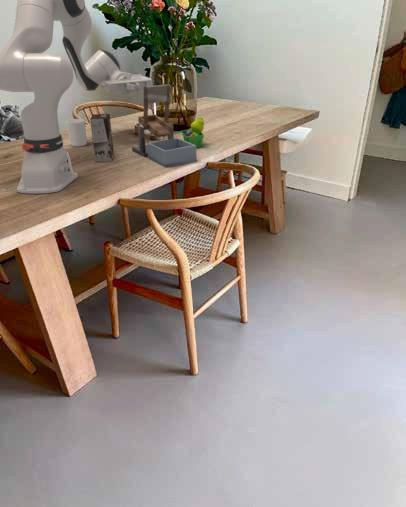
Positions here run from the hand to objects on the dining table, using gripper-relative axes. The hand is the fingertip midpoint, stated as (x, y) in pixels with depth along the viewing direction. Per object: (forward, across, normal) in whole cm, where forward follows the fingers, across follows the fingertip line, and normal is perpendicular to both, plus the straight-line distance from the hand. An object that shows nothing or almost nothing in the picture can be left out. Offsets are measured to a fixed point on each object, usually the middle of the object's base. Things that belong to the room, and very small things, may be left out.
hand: (136, 87), depth 172 cm
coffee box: (+10, -21, +23) cm, 33 cm away
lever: (+15, 0, +13) cm, 20 cm away
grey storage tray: (+27, 0, +23) cm, 36 cm away
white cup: (-15, -22, +23) cm, 36 cm away
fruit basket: (+14, +18, +24) cm, 33 cm away
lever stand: (+13, 0, +23) cm, 26 cm away
